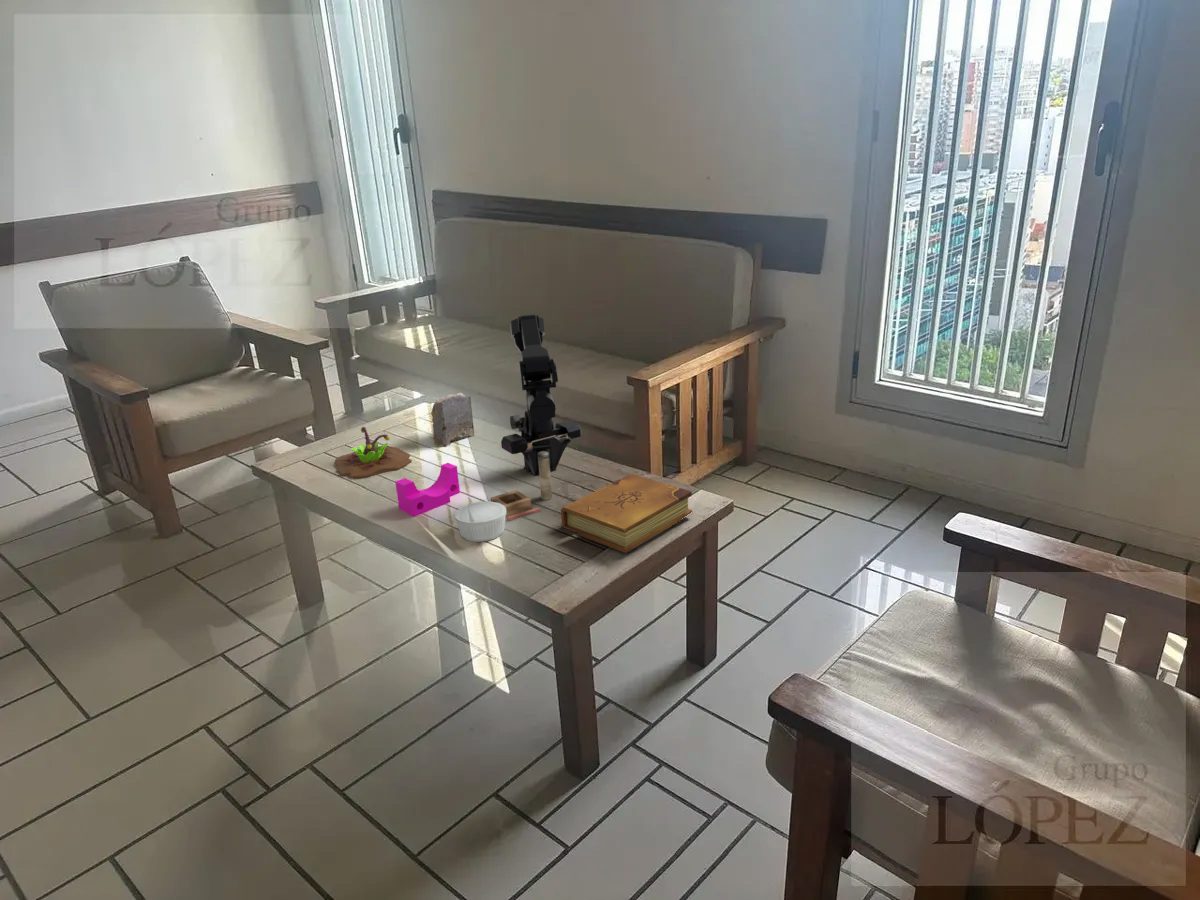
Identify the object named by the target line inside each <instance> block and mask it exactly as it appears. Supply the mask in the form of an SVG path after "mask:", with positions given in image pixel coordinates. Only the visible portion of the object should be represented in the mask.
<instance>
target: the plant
mask: <svg viewBox="0 0 1200 900" xmlns="http://www.w3.org/2000/svg"><path fill="white" fill-rule="evenodd" d="M360 431H361V432H360V433H364V438H365V445H363V444H358V447H359V448H357V447H350V450H351V451H353V452H351V453H348V454H343V455H340V456H337V457H336V459H335V467H336V468H337V467H338V468H337V469H336V471H335V473H336V472H339V473H338V474H339V475H340V476H341V477H349V478H350V479H351V478H353V479H352V480H362V478H363V479H367V478H371V476H372V477H374V476H377V475H381V474H386V473H389V472H395V471H399V470H401V469H403V468H406V467H407V466H408V465H411V463H412V459H410V457H411V454H410V453H408V452H406V451H404V450H402V449H401V448H399V447H397V446H389V443H388V442H386V443H384V444H382V445H381V446H380V445H379V442H378V440H380V438H381V439H382V438H384V440H385V441H390V436H389V435H388V434H386V433H385V434H380V435H378V436H377V437H375V438H374V440H373V441H371V439H370V436H369V433H368V432H367V431H368V430H367V428H366V427H365V426H362V427H361V429H360Z"/></svg>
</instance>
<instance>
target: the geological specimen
mask: <svg viewBox="0 0 1200 900" xmlns="http://www.w3.org/2000/svg"><path fill="white" fill-rule="evenodd" d="M430 414H431V417H432V418H431V421H432V423H433V424H432V431H433V432H432V433H433V442H434V444H437V445H440V446H442V447H448V446H449V445H450V443H452V442H454V441H459V440H463V439H464V438H470V437H474V436H475V428H474V416H473V409H472V399H471V396H470V395H469V396H468V395H465V394H463V393H462V392H458V393H452V394H446V395H445V396H441V397H439V398H437V400H435V402H434V404H433V405H432V408H431V412H430Z"/></svg>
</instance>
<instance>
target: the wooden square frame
mask: <svg viewBox="0 0 1200 900" xmlns="http://www.w3.org/2000/svg"><path fill="white" fill-rule="evenodd" d="M489 500H490V502H497V503H500V504H502V505H503V506H505V508H506V516H505V518H507V520H508V521H512V520H515V519H520V518H522V517H526V516H528V515H532V514H535V513H538V512H541V508H539V507H536V508H533V507H532V499H531V498H530V497H528V496H527V495H525V494H524V493H522V492H520V491H519V490H518V489H516V490H512V491H508V492H506V493H501V494H499V495H494V496H492V497H490V499H489Z"/></svg>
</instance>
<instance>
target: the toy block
mask: <svg viewBox="0 0 1200 900" xmlns="http://www.w3.org/2000/svg"><path fill="white" fill-rule="evenodd" d="M458 471H459V470H458V466H457V465H455V464H453V463H450V462H446V463H443V464H441V465H440V472H439V475H438V477H437V479H436V480H435V481H434V482H433V483H432V485H431V486H429V487H427V488H425V489H418V487H416V484H415V482H414V481H413V480H411V479H408V478H406V477H404V478H400V479H398V480H396V481H394V482H395V489H396V497H397V503H398V509H399V510H400V511H402V510H403V511H402V512H404V513H406V514H407V513H408V514H407V515H409V514H410V515H409V516H411V517H413V518H415V517H417V516H421V515H422V514H425V513H428V512H430V511H432V510H435V509H437V508H440V507H442V506H445V505H447V504H450V503H451V497H454V496H456V495H458V494H460V493H461V488H460V481H459V472H458Z"/></svg>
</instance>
